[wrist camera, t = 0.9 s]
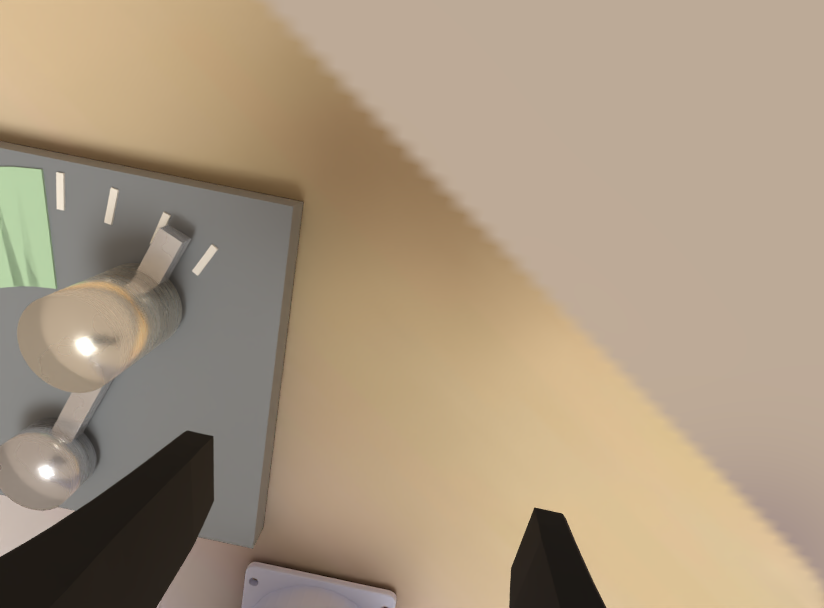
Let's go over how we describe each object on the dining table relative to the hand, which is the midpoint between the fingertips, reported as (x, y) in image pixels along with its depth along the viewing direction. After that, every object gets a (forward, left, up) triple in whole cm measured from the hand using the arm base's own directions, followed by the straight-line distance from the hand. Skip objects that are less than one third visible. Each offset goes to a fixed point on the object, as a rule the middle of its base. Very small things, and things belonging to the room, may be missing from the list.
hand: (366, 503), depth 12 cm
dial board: (-4, +15, -13) cm, 20 cm away
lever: (-4, +13, -11) cm, 17 cm away
